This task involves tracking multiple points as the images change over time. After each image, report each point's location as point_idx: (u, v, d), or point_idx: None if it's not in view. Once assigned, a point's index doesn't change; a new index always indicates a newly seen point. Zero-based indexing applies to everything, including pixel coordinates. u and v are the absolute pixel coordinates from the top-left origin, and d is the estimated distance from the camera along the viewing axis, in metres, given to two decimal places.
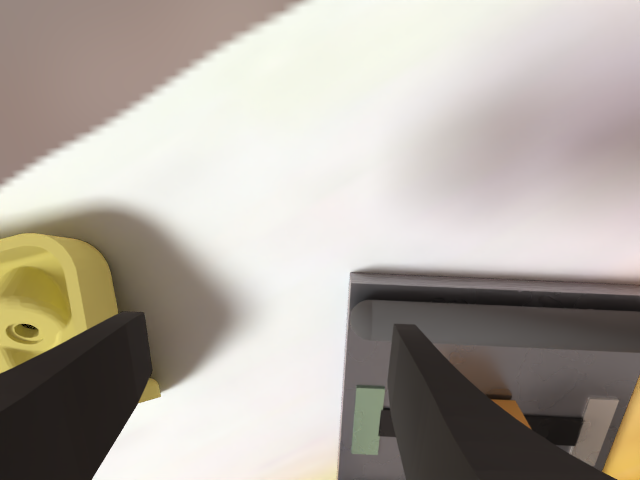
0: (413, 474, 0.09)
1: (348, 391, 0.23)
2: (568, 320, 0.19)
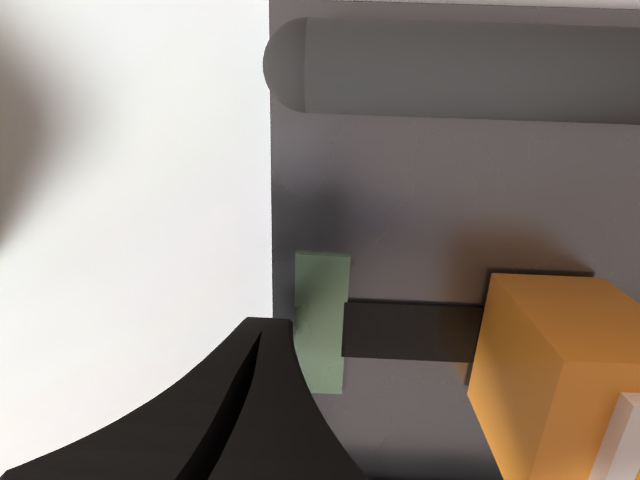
0: None
1: (280, 265, 0.12)
2: None
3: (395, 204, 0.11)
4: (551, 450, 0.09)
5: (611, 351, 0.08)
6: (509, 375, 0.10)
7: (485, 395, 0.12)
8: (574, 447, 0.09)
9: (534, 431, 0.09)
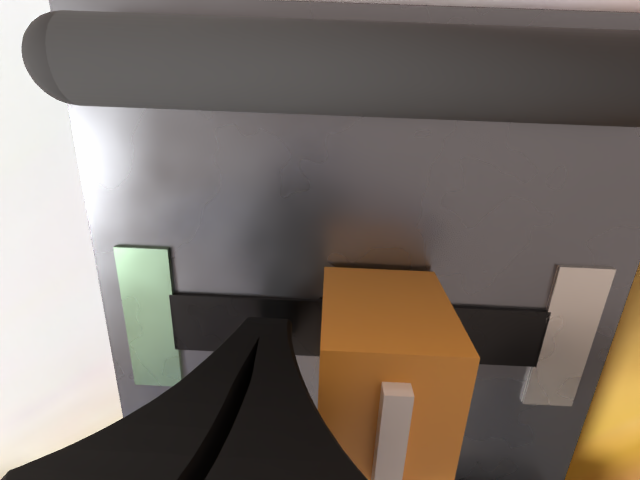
0: None
1: (102, 258, 0.12)
2: (499, 33, 0.08)
3: (204, 197, 0.11)
4: None
5: (376, 342, 0.09)
6: None
7: None
8: (351, 437, 0.09)
9: None
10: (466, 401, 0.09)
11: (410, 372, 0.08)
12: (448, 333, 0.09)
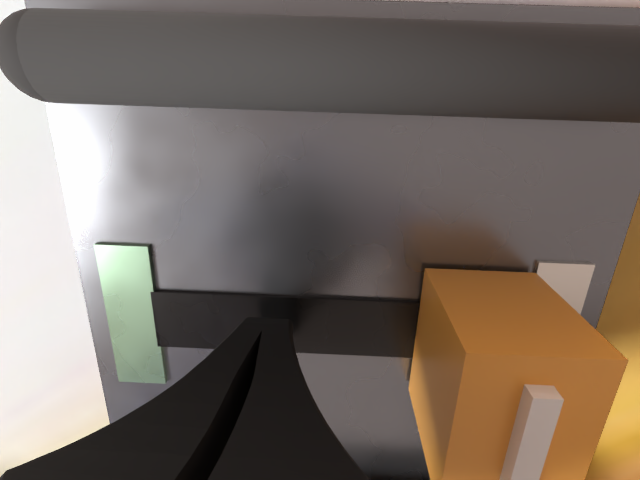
0: None
1: (84, 255, 0.12)
2: (468, 28, 0.08)
3: (183, 194, 0.12)
4: (462, 442, 0.09)
5: (516, 344, 0.08)
6: (433, 369, 0.11)
7: (419, 390, 0.12)
8: (485, 439, 0.09)
9: (447, 424, 0.09)
10: (608, 403, 0.09)
11: (555, 374, 0.08)
12: (583, 335, 0.09)
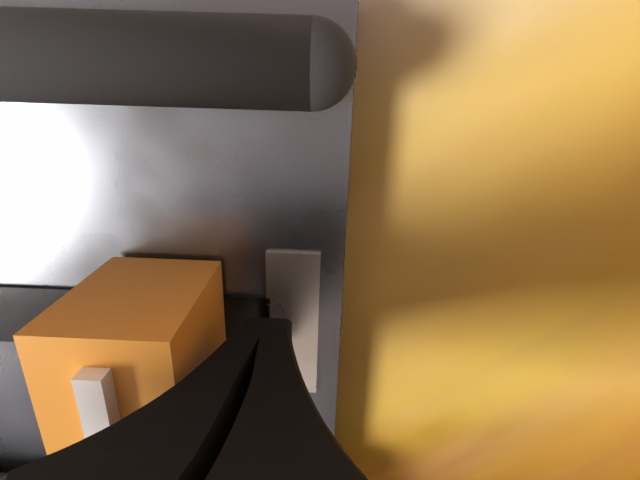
0: None
1: None
2: (88, 16, 0.09)
3: None
4: (51, 425, 0.09)
5: (79, 328, 0.09)
6: None
7: None
8: (71, 422, 0.09)
9: (43, 408, 0.09)
10: (170, 386, 0.09)
11: (107, 357, 0.08)
12: (164, 319, 0.09)
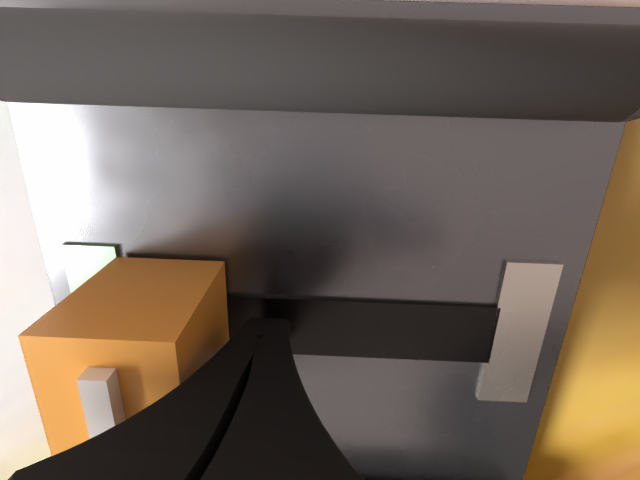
0: None
1: (51, 255, 0.12)
2: (423, 26, 0.08)
3: (149, 194, 0.11)
4: (56, 425, 0.09)
5: (84, 328, 0.09)
6: None
7: None
8: (76, 423, 0.09)
9: (48, 407, 0.09)
10: (175, 386, 0.09)
11: (112, 357, 0.08)
12: (169, 319, 0.09)
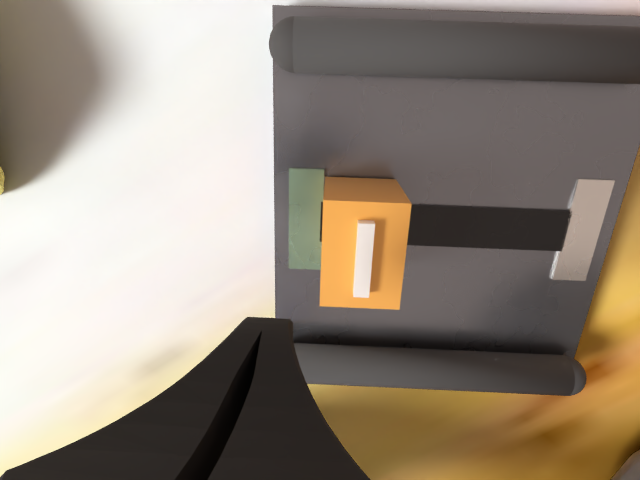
0: None
1: (279, 176, 0.19)
2: (547, 28, 0.15)
3: (351, 134, 0.18)
4: (328, 259, 0.16)
5: (354, 198, 0.15)
6: None
7: None
8: (341, 257, 0.16)
9: (321, 251, 0.16)
10: (406, 231, 0.15)
11: (373, 213, 0.15)
12: (397, 197, 0.16)
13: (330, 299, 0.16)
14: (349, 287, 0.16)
